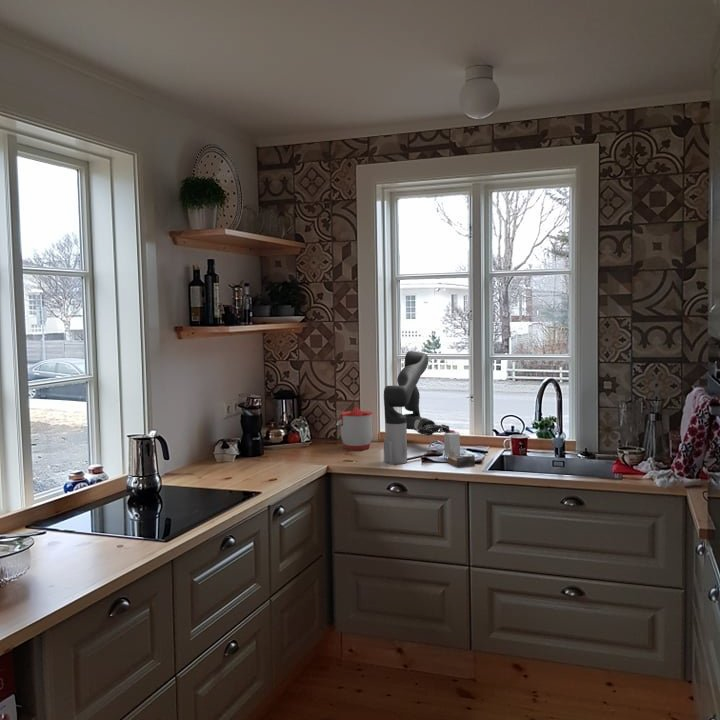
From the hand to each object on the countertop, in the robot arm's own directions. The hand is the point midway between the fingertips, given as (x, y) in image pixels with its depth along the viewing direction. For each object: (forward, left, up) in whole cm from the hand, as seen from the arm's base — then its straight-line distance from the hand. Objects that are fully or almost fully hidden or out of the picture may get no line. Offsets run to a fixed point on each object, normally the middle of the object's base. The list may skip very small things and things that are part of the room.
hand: (440, 432), depth 327 cm
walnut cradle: (-2, -24, -10) cm, 26 cm away
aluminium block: (0, -12, -10) cm, 15 cm away
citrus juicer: (-31, +28, -10) cm, 43 cm away
